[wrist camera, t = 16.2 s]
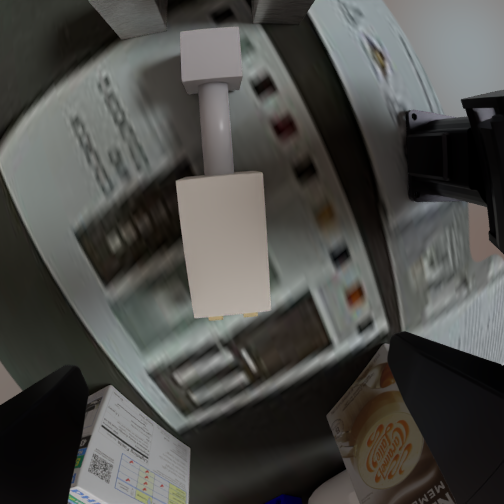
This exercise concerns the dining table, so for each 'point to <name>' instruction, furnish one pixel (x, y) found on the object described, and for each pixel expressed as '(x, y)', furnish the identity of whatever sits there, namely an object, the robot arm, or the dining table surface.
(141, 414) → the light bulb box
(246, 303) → the plug
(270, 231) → the dining table surface
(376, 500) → the coffee box
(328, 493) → the pot
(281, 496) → the cable holder
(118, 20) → the white block
